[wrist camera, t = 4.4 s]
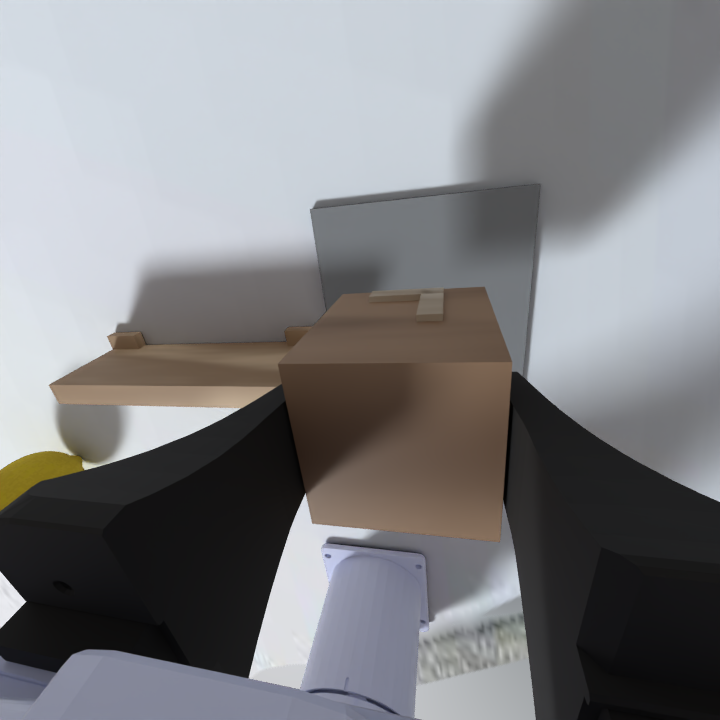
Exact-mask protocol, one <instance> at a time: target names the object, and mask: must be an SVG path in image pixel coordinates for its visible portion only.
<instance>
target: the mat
mask: <svg viewBox="0 0 720 720" xmlns="http://www.w3.org/2000/svg"><path fill="white" fill-rule="evenodd" d="M539 195H540V184H533V185H524V186H515V187H506V188H497V189H488V190H479V191H470V192H461V193H452V194H443V195H434V196H425V197H416V198H406V199H397V200H388V201H379V202H370V203H361V204H352V205H343V206H334V207H325V208H316V209H310V213H311V219H312V225H313V232H314V238H315V244H316V250H317V256H318V262H319V269H320V275H321V281H322V287H323V293H324V299H325V305H326V312H327V310H328V309H329V308H330V307H331V306H332V305H333V304H334V303H335V302H336V301H337V300H338V299H339V298H340V297H341V296H342V294H354V293H372V291H386V290H404V289H423V288H442V287H444V289H449V288H468V287H485V289H486V292H487V294H488V297H489V300H490V303H491V305H492V308H493V311H494V313H495V316H496V319H497V322H498V324H499V327H500V330H501V332H502V335H503V338H504V341H505V343H506V346H507V349H508V351H509V354H510V357H511V360H512V372H518V373H519V374H521V375H522V376H523V368H524V357H525V346H526V336H527V325H528V314H529V303H530V292H531V282H532V271H533V260H534V249H535V238H536V228H537V217H538V206H539Z"/></svg>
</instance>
